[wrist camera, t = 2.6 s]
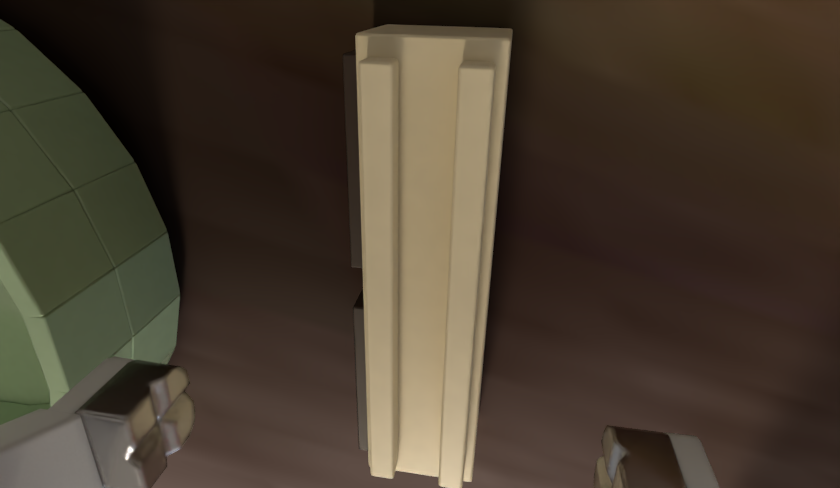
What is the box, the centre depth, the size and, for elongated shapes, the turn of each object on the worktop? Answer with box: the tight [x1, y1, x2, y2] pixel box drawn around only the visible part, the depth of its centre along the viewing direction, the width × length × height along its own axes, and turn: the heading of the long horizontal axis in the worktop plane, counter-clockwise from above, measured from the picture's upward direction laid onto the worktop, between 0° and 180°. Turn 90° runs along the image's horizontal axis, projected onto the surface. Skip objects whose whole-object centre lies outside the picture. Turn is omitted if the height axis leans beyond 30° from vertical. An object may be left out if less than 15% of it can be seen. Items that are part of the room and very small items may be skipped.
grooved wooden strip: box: [343, 24, 513, 488], centre depth 15 cm, size 12×4×4 cm, turn 179°
